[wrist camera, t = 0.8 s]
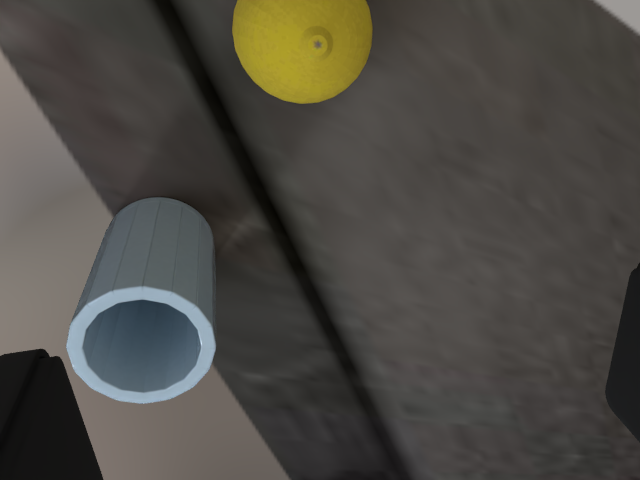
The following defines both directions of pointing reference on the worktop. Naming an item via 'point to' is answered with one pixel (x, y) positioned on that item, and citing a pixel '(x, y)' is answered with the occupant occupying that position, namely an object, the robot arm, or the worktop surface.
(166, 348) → the cup
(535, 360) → the worktop surface
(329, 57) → the lemon
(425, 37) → the worktop surface
